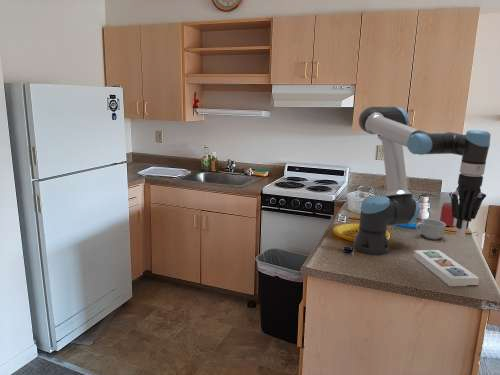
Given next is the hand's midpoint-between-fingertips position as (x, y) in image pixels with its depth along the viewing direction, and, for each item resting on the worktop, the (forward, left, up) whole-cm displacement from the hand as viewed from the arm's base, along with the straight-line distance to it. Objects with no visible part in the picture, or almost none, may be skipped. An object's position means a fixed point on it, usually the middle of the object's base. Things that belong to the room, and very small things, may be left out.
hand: (460, 236), depth 143 cm
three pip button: (0, +7, -16) cm, 18 cm away
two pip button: (0, -1, -16) cm, 16 cm away
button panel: (0, +7, -17) cm, 18 cm away
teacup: (+15, +43, -17) cm, 49 cm away
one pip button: (0, +15, -16) cm, 22 cm away
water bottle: (+12, +68, -17) cm, 71 cm away
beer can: (+35, +60, -17) cm, 71 cm away
